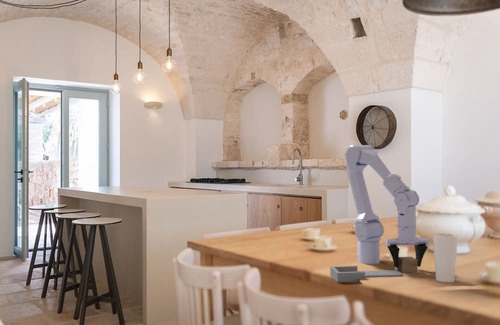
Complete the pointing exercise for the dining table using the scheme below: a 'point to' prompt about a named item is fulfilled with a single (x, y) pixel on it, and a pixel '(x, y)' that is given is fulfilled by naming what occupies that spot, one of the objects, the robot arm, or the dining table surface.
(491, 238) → the dining table surface
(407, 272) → the plate
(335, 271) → the grey square pan
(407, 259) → the block
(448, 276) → the drinking glass
